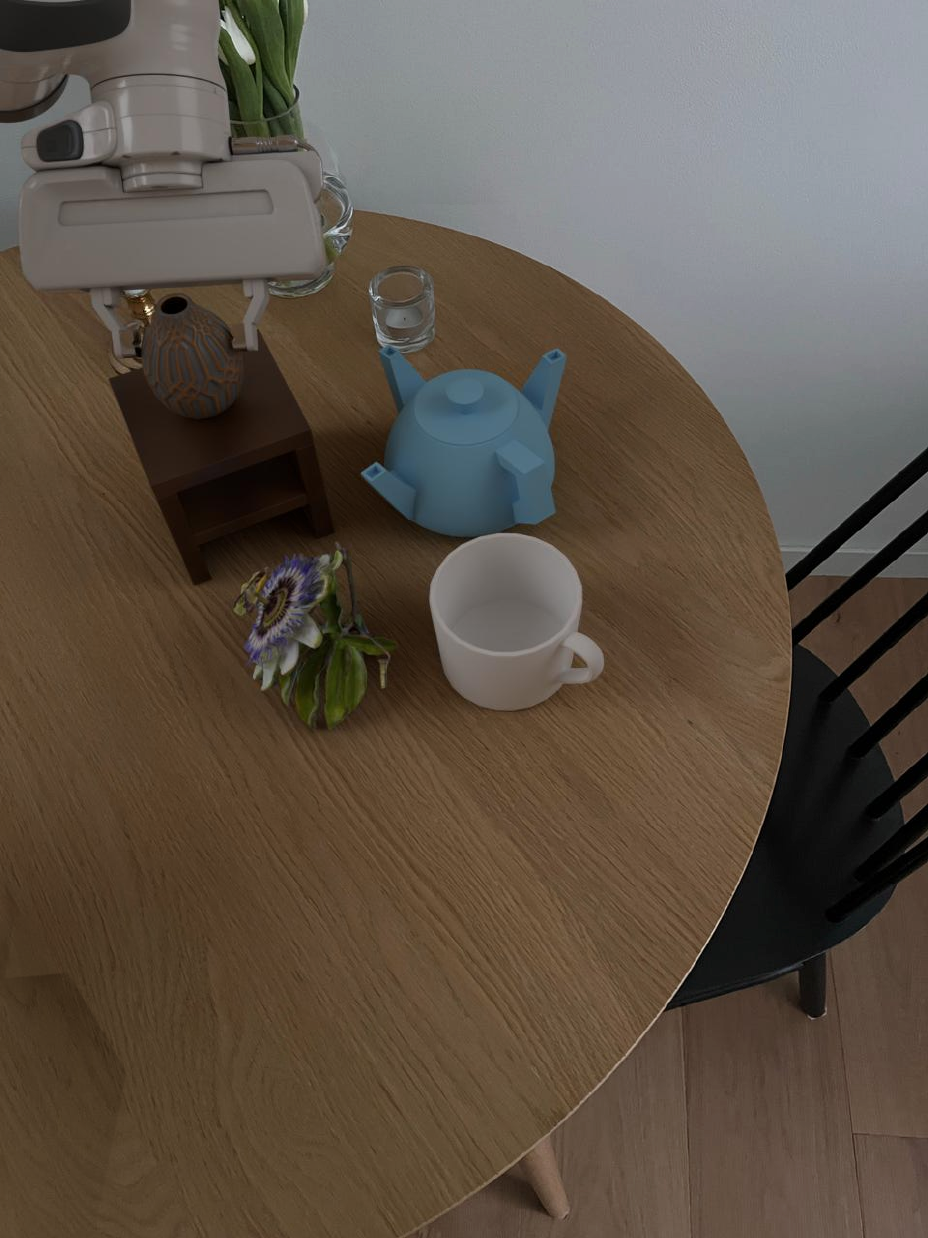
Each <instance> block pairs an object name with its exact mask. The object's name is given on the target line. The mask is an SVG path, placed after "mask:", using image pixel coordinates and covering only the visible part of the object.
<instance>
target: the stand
mask: <svg viewBox="0 0 928 1238" xmlns="http://www.w3.org/2000/svg"><path fill="white" fill-rule="evenodd" d="M257 339H258V351H250V352H241V353H242V357H243V363H244V378H243V384H242V387H241V390H240V393H239V395H238V396H237V398H236V400H235V401H234V402H233V403H232V405H231V406H229V407H228V408H227V409H226V410H225V411H223V412H222V413H220V414H218V415H216V416H213V417H210V418H205V419H194V418H188V417H184V416H181V415H179V414H176V413H174V412H172V411H171V410H169V409H168V408H167V407H166V406H164V405H163V404H162V403H161V402H160V401H159V400H158V398H157V397H156V396H155V394H154V393H153V392H152V390H151V388H150V386H149V384H148V382H147V380H146V377H145V374H144V371H143V367H139V368H135V369H133V370H130V371H127V372H124V373H120V374H118V375H115V376H112V377H109V378H108V381H109V384H110V387H111V389H112V392H113V395H114V397H115V399H116V403H117V405H118V407H119V409H120V412H121V415H122V417H123V420H124V422H125V425H126V427H127V430H128V433H129V435H130V438H131V440H132V443H133V446H134V449H135V451H136V453H137V455H138V458H139V461H140V463H141V466H142V469H143V471H144V474H145V476H146V478H147V481H148V485H149V486H150V489H151V491H152V494H153V496H154V497H155V498H154V499H155V501H156V502H157V505H158V507H159V509H160V511H161V514H162V516H163V518H164V521H165V523H166V525H167V528H168V530H169V532H170V534H171V537H172V539H173V541H174V544H175V546H176V548H177V551H178V553H179V555H180V557H181V559H182V562H183V563H184V566H185V569H186V571H187V573H188V575H189V578H190V581H191V582H192V584H193V586H197V585H199V584H202V583H205V582H207V581H209V580H212V575H211V573H210V570H209V569H208V566H207V563H206V560H205V558H204V557H203V554H202V551H201V549H200V547H199V545H201V544H202V545H203V544H205V543H207V542H210V541H213V540H215V539H218V538H221V537H223V536H227V535H229V534H231V533H235V532H238V531H239V530H242V529H244V528H247V527H250V526H252V525H255V524H258V523H261V522H264V521H266V520H269V519H272V518H275V517H278V516H281V515H283V514H286V513H288V512H290V511H293V510H296V509H299V508H301V507H302V509H303V511H304V513H305V516H306V518H307V519H308V522H309V524H310V525H311V527H312V530H313V532H314V534H315V536H316V538H317V539H320V538H323V537H326V536H328V535H331V534H334V533H335V532H336V531H335V526H334V522H333V517H332V514H331V509H330V505H329V501H328V497H327V491H326V489H325V487H326V486H325V483H324V479H323V474H322V470H321V465H320V462H319V458H318V453H317V449H316V444H315V440H314V435H313V431H312V428H311V426H310V424H309V422H308V421H307V418H306V416H305V413H303V411H302V409H301V407H300V405H299V403H298V400H297V399H296V397H295V395H294V394H293V392H292V390H291V387H290V386H289V384H288V382H287V380H286V378H285V377H284V374H283V373H282V371H281V369H280V367H279V364H278V363H277V361H276V359H275V357H274V355H273V354H272V351H271V350H270V348H269V346H268V344H267V343H266V341H265V338H264V337H263V335H262V333H261V331H260V329H259V328H257Z"/></svg>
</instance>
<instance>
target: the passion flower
mask: <svg viewBox="0 0 928 1238" xmlns="http://www.w3.org/2000/svg"><path fill="white" fill-rule="evenodd" d="M334 545H335V552H334V555H332V553H331V552H323V553H320V554H319V555H317V556H316V557H314V559H313V557H309V558H307V557H306V556H305V555H304V553H299V554H298V557H297V553H293V555H292V559H289V557H288V556H285V557H284V559H285V561H284V562H283V563H279V564H278V565H277V566H276V567H275V568H273V570H272V571H271V574H270V568H269V566H265V567H263V568H262V569H261V570H259V571H256V572H255V573H253V574H252V576H251V578H250V579H249V581H247V582H245V583H243V584H242V585H241V588H240V589H241V590H240V595H239V596H238V597H237V598H236V599H235V601H234V603H233V611H234V613H235V614H236V615H238V616H241V617H243V616H246V615H248V614H252V613H253V612H254V610H255V607H256V609H257V610H256V611H257V617H256V618H255V622H254V623H252V628H251V630H250V631H249V634H250V635H249V637H248V638H247V640H246V642H245V643H244V645H243V649H244V650H245V651H246V652H247V653H249V658H248V660H246V662H245V664H244V666H245V667H246V666H247V665H248V664H249V665H250V666H251V665H255V668H254V672H253V675H252V679H253V680H255V681H262V685H261V687H260V691H261V692H266V691H268V690H269V689H272V688H274V687H275V686H276V685H278V684H279V685H280V698H281V699H282V701H283V704H284V705H285V706H289V705H290V703H289V702H290V696H291V695H290V694H291V692H292V689H293V687H294V683H295V681H296V687H295V694H294V700H295V704H296V712H297V714H298V716H299V718H300V719H301V721H302V722H304V723H306V724H307V726H309V727H310V728H311V729H313V730H316V729H317V727H318V726H317V719H318V717H319V713H320V710H321V706H322V705H321V694H322V677H323V675H324V673H325V670H326V673H325V681H324V687H325V689H324V691H325V693H324V695H325V703H324V705H323V712H324V716H325V721H326V728H327V729H328V731H332V730H333V729H334V728H335V727H337V726H339V724H341V723H343V722H344V721H345V719H346V718H347V716H349V714H351V713H352V712H353V711H354V710H355V709H356V708H357V707H358V705H359V704H360V703H361V701H362V699H363V698H364V696H365V694H366V690H367V685H368V679H369V678H368V677H369V676H368V671H367V665H366V662H365V660H364V659H365V658H364V655H363V652H364V653H365V654H367V655H369V656H374V657H375V658H377V657H379V656H381V655H387V659H386V658H385V659H383V658H382V659H381V658H379V659H378V660H377V662H378V664H379V673H380V674H379V682H380V689H386V688H387V685H388V680H387V678H388V677H387V675H388V669H387V668H388V664H389V662H390V659H391V654H390V653H391V652H393V651H394V650H395V649H397V648H398V646H399V645H398V643H397V642H396V641H394V640H392V639H389V638H387V637H384V636H380V635H374V634H371V633H370V631H369V630H368V628H367V626H366V623H365V621H364V619H363V616H362V613H361V611H360V610H359V607H358V602H357V601H358V600H357V595H356V589H355V584H354V577H353V570H352V569H353V568H352V560H351V556H350V551H349V549H347V548H345V547H343V545H341V544H340V542H338V541H335V542H334ZM341 565H343V566H344V567H345V570H346V574H347V582H348V589H349V595H350V602H351V611H350V614H349V617H348V619H347V622H346V623H342V618H343V611H344V610H343V608H344V607H343V606H342V605H341V604H340V602H339V591H340V585H339V583H338V578H337V576H336V575H335V571H337V570H338V569H339V568H340V566H341ZM269 575H270V576H271V577H270V578H269V579H268V580H267V582H266V579H267V578H268V576H269ZM265 582H266V583H265ZM263 586H264V587H263ZM262 589H263V591H262ZM261 591H262V593H261V594H260V592H261ZM318 606H319V608H320V610H321V611H322V614H323V615H324V616H323V617H324V618H325V621H324V622H318V621H317V620H316V619H315V617H314V616H313V613H314V612H315V610H316V609H317V607H318ZM352 632H356V634H350V633H352ZM324 636H327V638H326V639H325V640H324V641H323V639H324ZM311 648H312V649H317V648H319V649H318V650H317V651H314V652H313V653H312V654H311V655H310V656H309V657H308V658H307V659H306V660H305V661H304V662H303V660H304V658H305V656H306V654H307V653H308V652H309V650H310V649H311ZM302 662H303V663H302ZM299 667H300V668H299Z"/></svg>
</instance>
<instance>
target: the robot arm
mask: <svg viewBox="0 0 928 1238" xmlns="http://www.w3.org/2000/svg"><path fill="white" fill-rule="evenodd" d="M220 10H221V9H220V2H219V0H0V124H16V123H23V122H27V121H30V120H32V119H36V118H38V117H39V116H41V115H43V114H45V113H46V112H47V111H49V110H50V109H51V108H52V107H53V106H54V105H55V104H56V103H57V102H58V101H59V99H60V98H61V96H62V95H63V93H64V91H65V89H66V87H67V86H68V85H67V84H68V82H69V80H70V79H69V78H70V75H71V76H79V77H81V78H82V79H84V80H85V81H86V82H87V83H88V87H89V96H90V104H88V105H86V106H83V107H82V108H80V109H78V110H76V111H74V112H72V113H69V114H68V115H65V116H63V117H60V118H58V119H56V120H54V121H51V122H49V123H46V124H43V125H42V126H38V127H36V128H34V129H32V130H30V131H28V132H26V133H25V134H24V135H23V136H22V137H21V141H20V151H21V155H22V159H23V161H24V163H25V164H26V166H28V167H29V168H30V169H31V170H32V171H34V173H33V174H31V175H30V176H28V178H27V179H26V180H25V181H24V183H23V185H22V187H21V189H20V193H19V197H18V221H17V223H18V244H19V256H20V264H21V269H22V274H23V276H24V278H25V279H26V281H27V282H28V283H29V285H31V286H32V287H33V288H34V289H35V290H36V291H39V292H41V293H44V294H48V295H75V294H76V295H77V294H90V300H91V301H90V302H91V307H92V308H93V310H94V311H95V312H96V313H97V314H96V315H98V317H99V318H100V320H101V321H102V322H103V324H104V325H105V326H106V328H107V329H108V331H109V332H111V336H112V344H113V353H114V357H115V358H116V359H120V360H124V359H126V360H127V359H138V358H140V359H141V346H142V345H141V344H142V333H141V331H136V330H134V329H127V327H126V325H125V324H124V322H123V321H122V319H121V317H120V316H119V314H118V313H117V312H116V310H115V309H118V308H119V309H120V308H121V307H122V298H121V292H126V291H141V290H144V291H145V290H160V289H177V288H178V289H179V288H194V287H211V286H213V287H214V286H227V285H228V286H230V285H231V286H232V285H242V287H243V296H245V298H247V299H249V300H250V303H249V305H248V308H247V310H246V313H245V315H244V317H243V319H242V322H241V323H235V324H233V323H232V324H230V329H231V335H232V336H233V337H234V338H233V340H232V346H233V350H234V351H235V352H250V351H258V339H257V329H258V328H257V326H258V325H259V324H260V321H261V320H262V317H263V315H264V313H265V311H266V309H267V306H268V305H269V302H270V300H271V296H270V294H271V293H270V285H269V284H270V283H280V282H283V283H284V282H298V281H299V282H300V281H312V280H313V281H315V280H318V279H319V278H320V277H321V275H322V274H323V272H324V270H325V269H326V267H327V263H328V261H327V260H328V259H327V253H326V244H325V238H324V232H323V227H322V221H321V217H320V213H319V209H318V205H317V203H318V201H319V200H320V199H321V197H322V195H323V192H324V187H325V186H324V185H325V182H324V168H323V161H322V159H321V156H320V154H319V152H318V151H317V150H316V148H315V147H314V146H313V145H311V144H310V143H308V142H306V141H303V140H299V137H298V136H296V135H292V134H280V135H277V136H271V137H269V136H268V137H267V136H265V137H262V136H246V137H245V136H244V137H242V136H239V137H232V127H231V119H230V107H229V95H228V89H227V84H226V81H225V78H224V75H223V72H222V70H221V67H220V62H219V61H220V60H219V40H220V35H221V30H222V21H221V11H220ZM300 148H302V149H304V150H302V151H301V150H300Z"/></svg>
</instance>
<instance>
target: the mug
mask: <svg viewBox="0 0 928 1238" xmlns="http://www.w3.org/2000/svg"><path fill="white" fill-rule="evenodd" d="M429 586H430V587H429V597H428V598H429V599H428V602H429V606H430V611H431V612H430V613H431V616H432V622H433V627H434V632H435V636H436V642H437V647H438V651H439V657H440V662H441V666H442V670H443V674H444V676H445V678H446V679H447V680H448V682H449V684H450V686H451V687H452V688H453V689H454V691H455V692H457V693H458V694H459V695H460V696H461V697H462V698H464V699H465V700H467V701H469V702H471V703H473V704H475V705H476V706H478V707H481V708H486V709H490V710H493V711H501V712H502V711H503V712H504V711H506V712H507V711H511V712H515V711H519V710H524V709H529V708H532V707H534V706H537V705H538V704H541V703H543V702H545V701H547V700H549V698H550V697H552V696H553V695H554V694H556V693H557V691H559V690H560V689H561V687H562V686H563V684H564V685H565V684H568V685H569V684H586V683H592V682H594V681H595V680H596V679H597V678H598V677H599V676H600V675H601V673H602V671H603V670H604V667H605V659H604V658H605V657H604V653H603V651H602V649H601V648H600V647H599V645H598V644H597V642H595V641H594V640H592V639H591V638H589V636H587V635H585V634H583V633H581V632H579V626H580V620H581V614H582V609H583V608H582V607H583V585H582V582H581V579H580V575H579V574H578V570H577V569H576V568H575V567H574V565H573V563H572V562H571V561H570V560H569V558H568V556H566V555H565V554H564V553H563V552H561V551H560V550H559V549H557V548H556V547H555V546H554V545H552V544H550V543H548V542H546V541H544V540H542V539H540V538H537V537H535V536H531V535H526V534H522V533H518V532H517V533H516V532H498V533H494V534H491V535H486V536H480V537H474V538H473V539H471V540H469V541H466V542H463V543H462V544H461V545H459V546H458V547H456V549H454V550H453V551H451V552H450V553H448V555H446V557H445V558H444V559H443V561H442V562H440V564H439V566H438V567H437V568H436V570H435V572H434V575H433V577H432V580H431V582H430V585H429ZM575 654H577V656H579V657H580V658H581V659H582V660H583V661H584V662H585V663H586V666H587V667H572V665H573V660H574V655H575Z"/></svg>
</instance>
